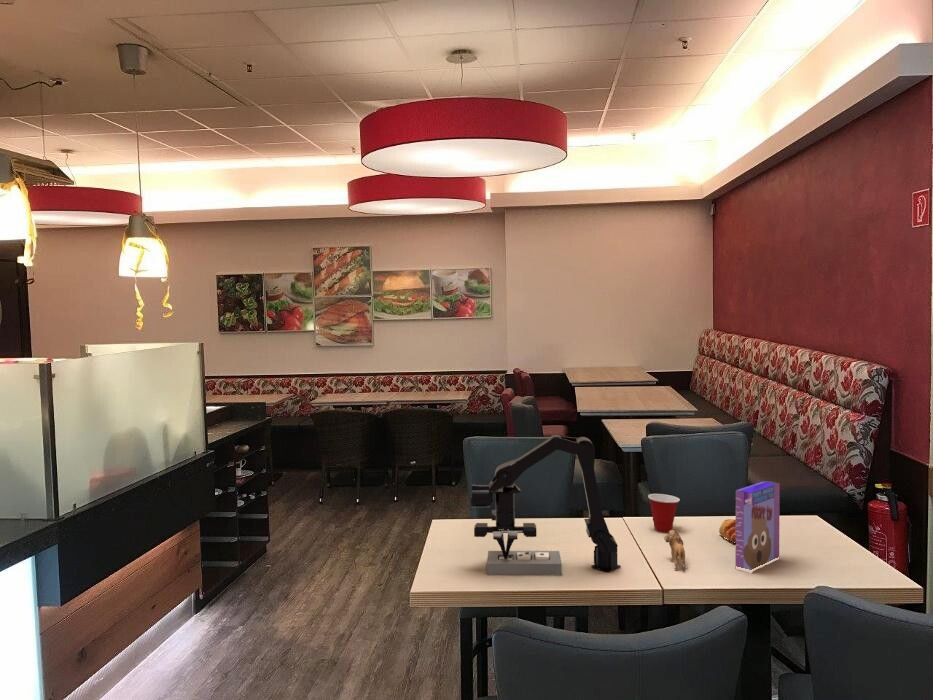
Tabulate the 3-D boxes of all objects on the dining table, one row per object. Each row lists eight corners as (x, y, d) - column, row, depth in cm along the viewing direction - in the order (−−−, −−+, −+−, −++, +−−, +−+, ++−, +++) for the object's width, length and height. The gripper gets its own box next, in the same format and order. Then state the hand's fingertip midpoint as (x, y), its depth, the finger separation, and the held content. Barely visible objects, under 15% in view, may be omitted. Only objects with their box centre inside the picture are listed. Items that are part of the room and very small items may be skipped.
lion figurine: (662, 557, 240) (662, 528, 239) (679, 556, 240) (679, 528, 240) (676, 573, 225) (676, 543, 225) (694, 572, 225) (694, 542, 225)
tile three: (512, 562, 234) (512, 556, 234) (512, 566, 230) (512, 560, 230) (499, 562, 234) (499, 555, 234) (499, 566, 230) (499, 560, 230)
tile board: (559, 561, 237) (559, 550, 237) (561, 575, 225) (561, 563, 225) (488, 561, 238) (488, 550, 238) (487, 574, 227) (486, 563, 226)
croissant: (721, 538, 270) (710, 518, 270) (747, 525, 268) (736, 505, 268) (732, 556, 249) (720, 534, 249) (760, 543, 247) (748, 521, 247)
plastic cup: (683, 534, 263) (683, 500, 262) (651, 535, 263) (651, 500, 262) (675, 525, 273) (675, 492, 273) (645, 526, 274) (645, 492, 273)
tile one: (548, 558, 233) (548, 551, 233) (549, 562, 229) (549, 556, 229) (535, 558, 233) (535, 551, 233) (535, 562, 229) (535, 556, 229)
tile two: (530, 558, 234) (530, 551, 233) (530, 562, 230) (530, 556, 229) (517, 558, 234) (517, 551, 234) (517, 562, 230) (517, 555, 230)
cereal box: (750, 573, 224) (750, 492, 223) (735, 569, 228) (735, 489, 226) (779, 559, 236) (779, 482, 234) (764, 556, 239) (764, 480, 238)
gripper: (535, 500, 239) (535, 549, 239) (475, 500, 240) (476, 549, 241) (536, 509, 227) (536, 561, 228) (473, 509, 229) (474, 561, 229)
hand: (505, 557), depth 232 cm, fingers closed
